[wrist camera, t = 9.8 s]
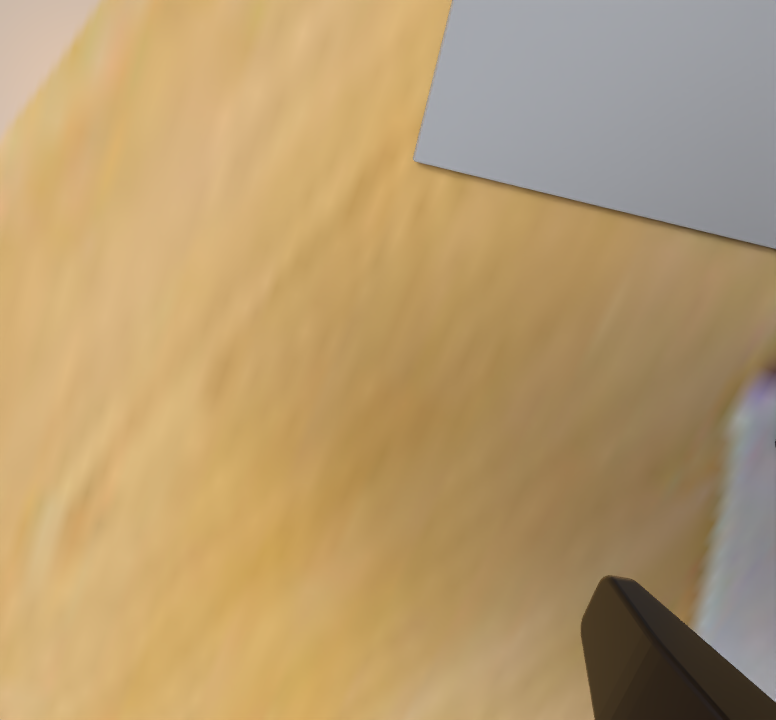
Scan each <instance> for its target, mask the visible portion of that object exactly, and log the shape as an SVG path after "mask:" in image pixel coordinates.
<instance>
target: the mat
mask: <svg viewBox="0 0 776 720" xmlns="http://www.w3.org/2000/svg"><path fill="white" fill-rule="evenodd" d="M413 160H414V161H416V162H420V163H424V164H428V165H432V166H436V167H441V168H445V169H449V170H453V171H457V172H461V173H465V174H469V175H473V176H478V177H482V178H486V179H490V180H494V181H498V182H502V183H506V184H511V185H515V186H519V187H523V188H527V189H531V190H535V191H539V192H544V193H548V194H552V195H556V196H560V197H564V198H568V199H572V200H576V201H581V202H585V203H589V204H593V205H597V206H601V207H605V208H609V209H614V210H618V211H622V212H626V213H630V214H634V215H638V216H642V217H647V218H651V219H655V220H659V221H663V222H667V223H671V224H675V225H680V226H684V227H688V228H692V229H696V230H700V231H704V232H708V233H712V234H717V235H721V236H725V237H729V238H733V239H737V240H741V241H745V242H750V243H754V244H758V245H762V246H766V247H770V248H774V249H776V0H452V4H451V8H450V12H449V16H448V20H447V24H446V28H445V32H444V36H443V40H442V44H441V48H440V52H439V56H438V60H437V64H436V68H435V72H434V76H433V80H432V84H431V88H430V92H429V96H428V100H427V104H426V108H425V112H424V116H423V120H422V124H421V128H420V132H419V136H418V140H417V144H416V148H415V152H414V156H413Z"/></svg>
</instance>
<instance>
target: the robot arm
mask: <svg viewBox="0 0 776 720" xmlns="http://www.w3.org/2000/svg"><path fill="white" fill-rule="evenodd" d="M775 446H776V441H775ZM581 638H582V644H583V651H584V657H585V663H586V669H587V675H588V681H589V687H590V693H591V699H592V706H593V712H594V718H595V720H776V702H774V701H773V700H772V699H771V698H770V697H769V696H767V695H766V694H765V693H764V692H763V691H762V690H761V689H759V688H758V687H757V686H756V685H755V684H754V683H752V682H751V681H750V680H749V679H748V678H747V677H746V676H744V675H743V674H742V673H741V672H740V671H739V670H737V669H736V668H735V667H734V666H733V665H732V664H731V663H729V662H728V661H727V660H726V659H725V658H724V657H722V656H721V655H720V654H719V653H718V652H717V651H716V650H714V649H713V648H712V647H711V646H710V645H709V644H708V643H706V642H705V641H704V640H703V639H702V638H701V637H699V636H698V635H697V634H696V633H695V632H694V631H693V630H691V629H690V628H689V627H688V626H687V625H686V624H684V623H683V622H682V621H681V620H680V619H679V618H678V617H676V616H675V615H674V614H673V613H672V612H671V611H669V610H668V609H667V608H666V607H665V606H664V605H663V604H661V603H660V602H659V601H658V600H657V599H656V598H654V597H653V596H652V595H651V594H650V593H649V592H648V591H646V590H645V589H644V588H643V587H642V586H641V585H640V584H638V583H637V582H636V581H634V580H632V579H629V578H623V577H617V576H610V575H609V576H605V577H603V578H602V579H601V580H600V582H599V584H598V586H597V588H596V590H595V592H594V594H593V596H592V598H591V601H590V603H589V605H588V607H587V609H586V611H585V613H584V615H583V618H582V622H581Z"/></svg>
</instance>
